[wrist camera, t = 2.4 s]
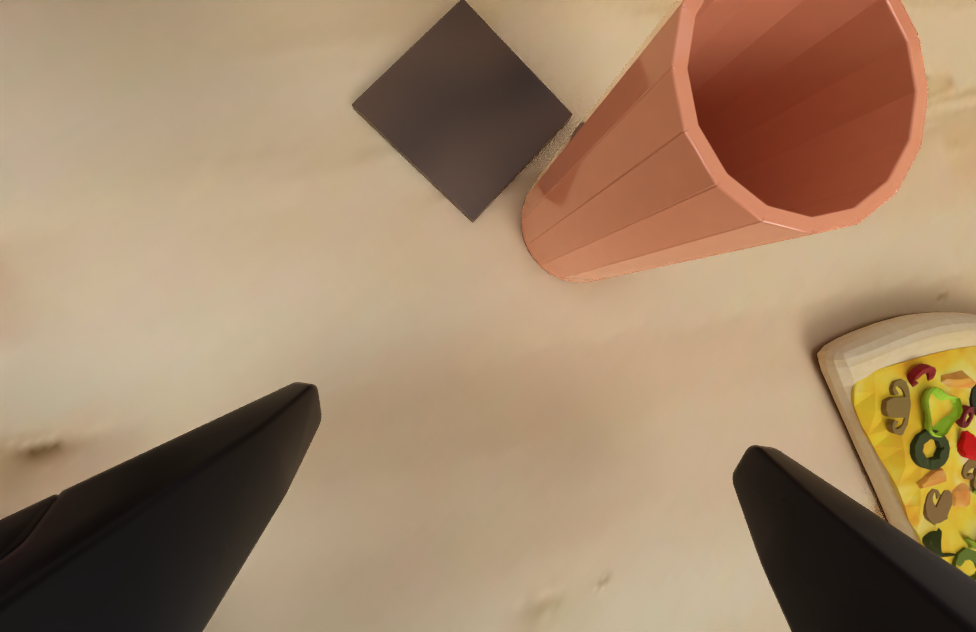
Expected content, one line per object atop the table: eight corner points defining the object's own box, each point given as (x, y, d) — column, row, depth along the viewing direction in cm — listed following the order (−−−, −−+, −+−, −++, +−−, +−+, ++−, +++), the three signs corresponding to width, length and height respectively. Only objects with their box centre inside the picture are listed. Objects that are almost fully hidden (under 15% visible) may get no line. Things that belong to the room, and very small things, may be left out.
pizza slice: (985, 301, 25) (1059, 299, 22) (1008, 582, 26) (1084, 617, 23) (807, 326, 23) (863, 328, 20) (835, 637, 23) (894, 684, 20)
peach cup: (642, 269, 21) (949, 202, 9) (535, 293, 20) (709, 257, 8) (619, 156, 21) (900, -80, 8) (509, 174, 20) (644, -66, 7)
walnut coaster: (570, 118, 20) (572, 114, 20) (472, 222, 19) (473, 220, 19) (461, 4, 19) (462, -3, 19) (353, 108, 18) (351, 104, 18)
